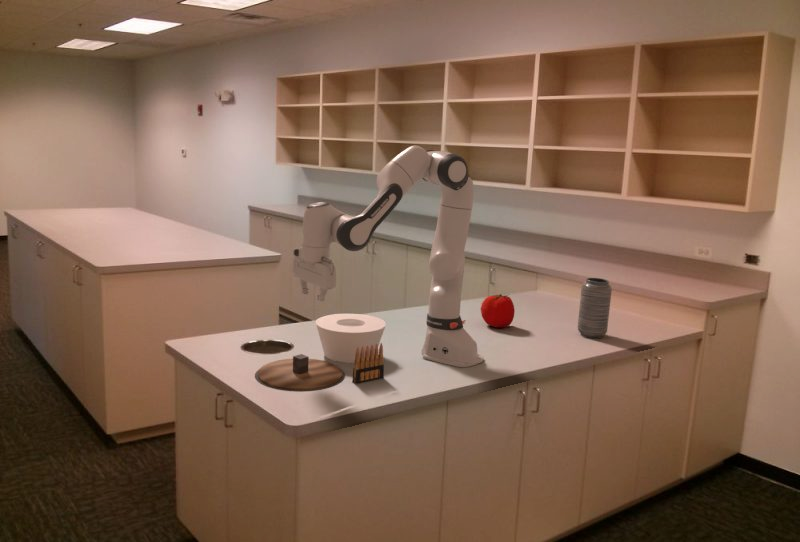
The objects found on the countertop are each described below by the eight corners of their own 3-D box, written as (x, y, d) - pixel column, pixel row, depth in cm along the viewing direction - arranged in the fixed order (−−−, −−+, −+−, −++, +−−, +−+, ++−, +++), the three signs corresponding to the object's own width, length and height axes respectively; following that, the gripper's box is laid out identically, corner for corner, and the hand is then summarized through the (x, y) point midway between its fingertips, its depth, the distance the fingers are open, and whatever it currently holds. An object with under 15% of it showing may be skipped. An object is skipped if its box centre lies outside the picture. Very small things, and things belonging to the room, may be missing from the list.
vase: (581, 329, 285) (587, 275, 281) (609, 334, 280) (615, 279, 275) (573, 335, 275) (578, 280, 271) (602, 341, 270) (608, 284, 265)
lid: (359, 376, 215) (359, 358, 214) (294, 396, 196) (294, 377, 195) (305, 356, 232) (306, 339, 231) (241, 373, 213) (241, 354, 212)
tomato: (520, 330, 280) (522, 297, 277) (490, 332, 275) (492, 299, 272) (500, 320, 294) (503, 289, 291) (472, 321, 289) (474, 290, 286)
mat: (363, 378, 216) (363, 376, 216) (293, 400, 195) (293, 398, 195) (305, 356, 234) (306, 354, 234) (236, 374, 214) (236, 372, 213)
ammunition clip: (380, 378, 217) (382, 341, 215) (383, 380, 215) (385, 343, 213) (352, 384, 211) (353, 346, 208) (355, 386, 209) (356, 348, 207)
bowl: (309, 347, 244) (309, 314, 242) (374, 344, 252) (375, 312, 249) (322, 369, 222) (323, 334, 220) (392, 365, 229) (394, 331, 227)
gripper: (342, 260, 208) (339, 304, 211) (307, 247, 223) (304, 289, 226) (325, 261, 204) (322, 306, 207) (290, 248, 219) (287, 290, 222)
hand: (312, 297), depth 216 cm, fingers open, 8 cm apart
